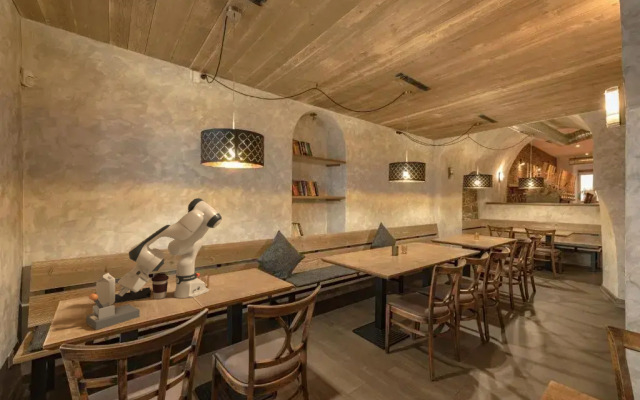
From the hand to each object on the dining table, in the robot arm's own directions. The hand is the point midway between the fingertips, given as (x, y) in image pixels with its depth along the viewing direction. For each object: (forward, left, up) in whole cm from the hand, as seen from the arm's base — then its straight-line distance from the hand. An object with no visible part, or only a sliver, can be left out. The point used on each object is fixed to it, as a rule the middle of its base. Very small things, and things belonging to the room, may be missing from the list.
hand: (119, 295), depth 161 cm
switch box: (+3, +1, -12) cm, 13 cm away
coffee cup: (-29, -14, -13) cm, 35 cm away
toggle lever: (+8, +1, -6) cm, 10 cm away
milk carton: (-3, -27, -13) cm, 30 cm away
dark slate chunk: (-18, -29, -13) cm, 37 cm away
